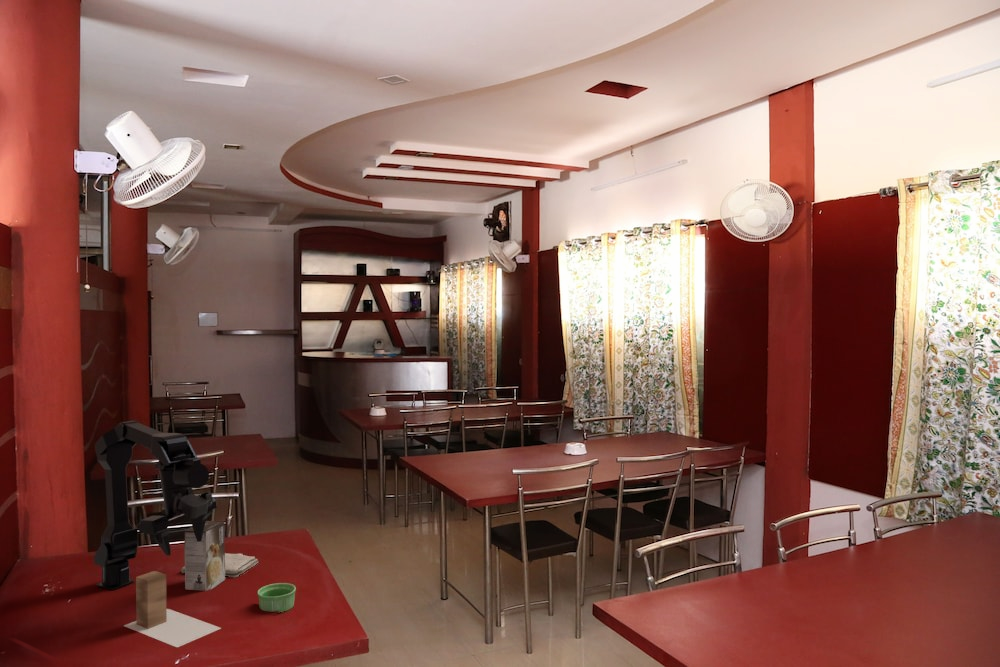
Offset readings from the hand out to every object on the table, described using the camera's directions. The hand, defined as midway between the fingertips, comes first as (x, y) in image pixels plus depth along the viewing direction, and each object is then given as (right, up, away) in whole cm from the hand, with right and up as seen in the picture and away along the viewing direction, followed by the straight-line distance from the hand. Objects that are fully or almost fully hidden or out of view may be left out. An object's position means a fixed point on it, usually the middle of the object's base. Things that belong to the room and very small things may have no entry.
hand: (184, 548), depth 173 cm
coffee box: (0, -14, +13) cm, 19 cm away
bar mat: (+3, -14, -13) cm, 20 cm away
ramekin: (+23, -15, -1) cm, 27 cm away
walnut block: (-2, -14, -11) cm, 18 cm away
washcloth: (-1, -14, +26) cm, 29 cm away
